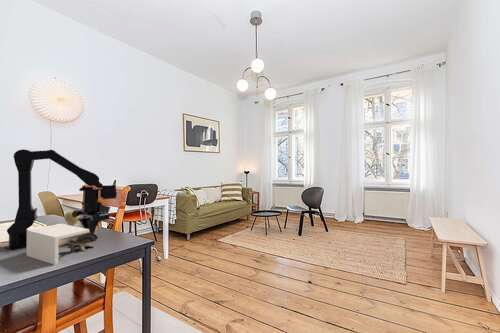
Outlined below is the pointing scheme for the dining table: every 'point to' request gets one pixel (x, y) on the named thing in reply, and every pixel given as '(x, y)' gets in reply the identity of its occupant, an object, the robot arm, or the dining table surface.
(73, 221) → the light bulb
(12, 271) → the dining table surface
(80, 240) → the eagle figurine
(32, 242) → the low shelf
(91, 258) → the dining table surface
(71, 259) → the dining table surface
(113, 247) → the dining table surface
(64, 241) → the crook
